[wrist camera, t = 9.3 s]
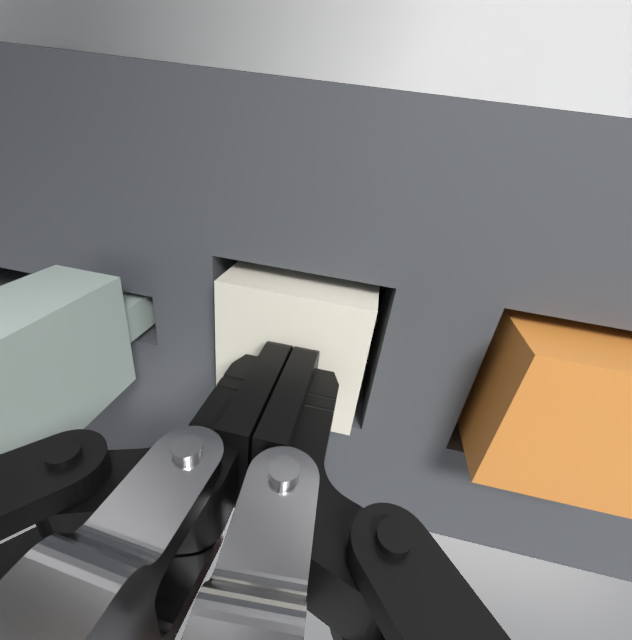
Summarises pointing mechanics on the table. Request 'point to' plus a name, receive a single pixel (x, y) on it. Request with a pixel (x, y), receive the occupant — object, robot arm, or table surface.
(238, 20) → the table surface
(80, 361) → the pale green rectangular block
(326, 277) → the cream button
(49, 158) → the switch panel
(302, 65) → the table surface
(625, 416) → the orange button
